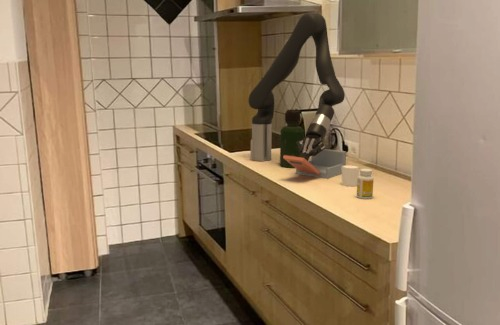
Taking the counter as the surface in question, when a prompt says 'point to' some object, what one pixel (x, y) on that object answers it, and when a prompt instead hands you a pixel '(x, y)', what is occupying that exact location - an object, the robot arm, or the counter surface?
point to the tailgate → (301, 164)
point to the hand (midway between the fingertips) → (302, 162)
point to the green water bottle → (291, 137)
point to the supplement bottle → (365, 184)
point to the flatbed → (327, 163)
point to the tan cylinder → (350, 175)
